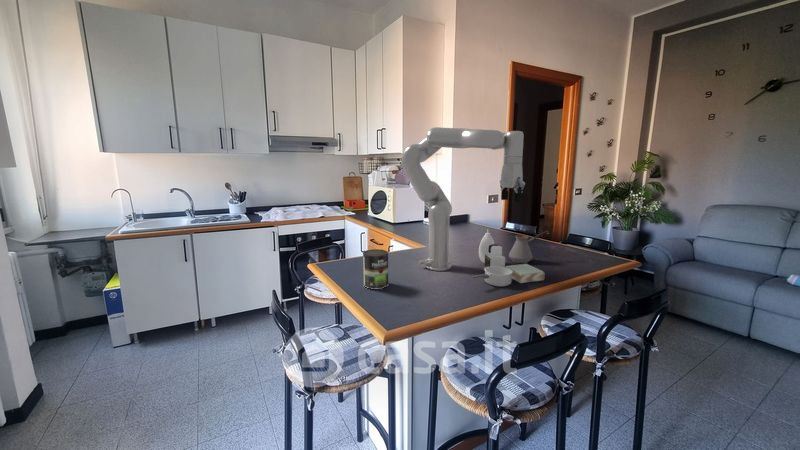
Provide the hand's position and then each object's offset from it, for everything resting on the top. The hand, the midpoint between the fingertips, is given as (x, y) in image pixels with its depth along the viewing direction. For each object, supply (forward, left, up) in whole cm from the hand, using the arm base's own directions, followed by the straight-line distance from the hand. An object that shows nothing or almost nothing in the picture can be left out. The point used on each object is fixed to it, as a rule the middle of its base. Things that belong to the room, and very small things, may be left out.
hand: (510, 200), depth 145 cm
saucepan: (-15, -11, -33) cm, 38 cm away
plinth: (+4, -7, -33) cm, 34 cm away
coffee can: (-60, +3, -33) cm, 69 cm away
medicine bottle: (-3, +5, -33) cm, 34 cm away
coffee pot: (+22, +13, -33) cm, 42 cm away
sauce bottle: (-1, +15, -33) cm, 36 cm away
